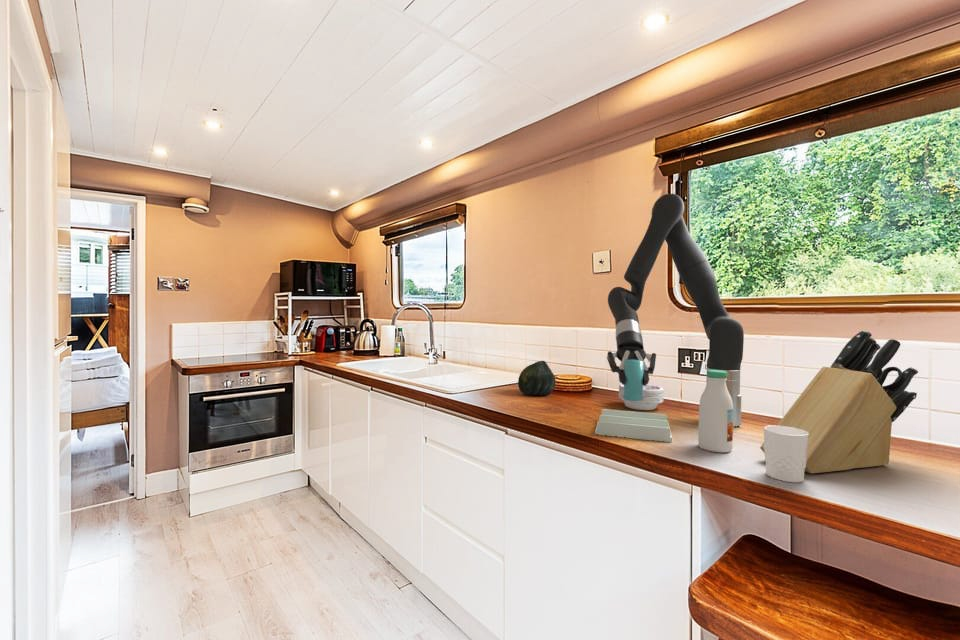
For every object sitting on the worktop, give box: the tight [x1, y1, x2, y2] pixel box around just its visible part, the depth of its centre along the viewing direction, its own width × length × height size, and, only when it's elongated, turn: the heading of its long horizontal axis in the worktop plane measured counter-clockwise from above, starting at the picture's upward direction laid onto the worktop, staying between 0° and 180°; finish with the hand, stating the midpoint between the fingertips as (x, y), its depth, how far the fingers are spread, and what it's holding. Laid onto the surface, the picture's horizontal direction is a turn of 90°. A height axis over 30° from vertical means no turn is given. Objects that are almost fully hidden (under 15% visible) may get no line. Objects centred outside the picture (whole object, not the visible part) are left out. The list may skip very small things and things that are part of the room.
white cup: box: [763, 424, 809, 483], centre depth 94 cm, size 8×8×10 cm
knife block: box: [759, 329, 919, 475], centre depth 104 cm, size 11×35×31 cm, turn 105°
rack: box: [594, 408, 673, 443], centre depth 129 cm, size 20×17×4 cm
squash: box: [517, 360, 556, 397], centre depth 181 cm, size 14×15×15 cm
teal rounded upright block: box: [623, 359, 645, 401], centre depth 125 cm, size 5×5×11 cm
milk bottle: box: [697, 369, 734, 454], centre depth 113 cm, size 8×8×20 cm
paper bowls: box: [618, 383, 664, 411], centre depth 160 cm, size 15×15×8 cm
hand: (634, 383), depth 124 cm, fingers closed on teal rounded upright block, 5 cm apart
